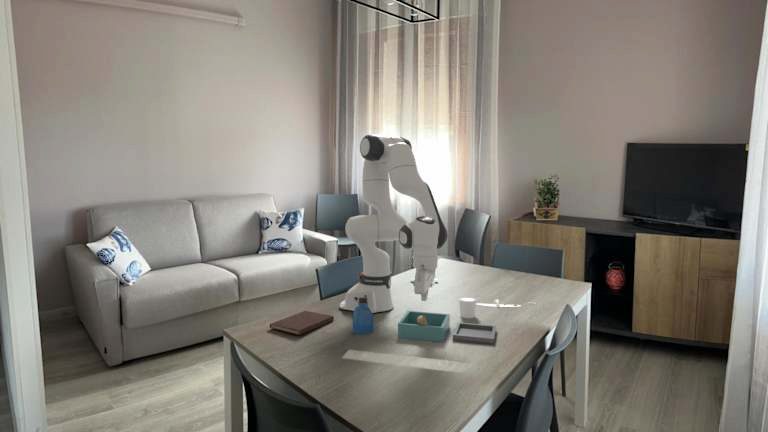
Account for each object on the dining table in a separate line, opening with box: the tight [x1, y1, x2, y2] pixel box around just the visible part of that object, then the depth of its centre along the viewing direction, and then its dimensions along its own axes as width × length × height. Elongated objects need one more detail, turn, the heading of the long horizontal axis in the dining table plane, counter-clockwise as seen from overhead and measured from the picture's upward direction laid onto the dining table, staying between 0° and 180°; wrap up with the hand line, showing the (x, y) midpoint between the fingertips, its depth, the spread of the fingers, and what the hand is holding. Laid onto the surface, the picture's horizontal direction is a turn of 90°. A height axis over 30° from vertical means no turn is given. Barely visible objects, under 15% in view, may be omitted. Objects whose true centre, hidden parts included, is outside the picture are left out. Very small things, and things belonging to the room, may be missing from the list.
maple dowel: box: [417, 315, 428, 326], centre depth 183 cm, size 3×3×9 cm
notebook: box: [269, 310, 335, 336], centre depth 196 cm, size 15×20×2 cm
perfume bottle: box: [352, 298, 374, 335], centre depth 187 cm, size 6×6×12 cm
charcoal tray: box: [452, 322, 497, 345], centre depth 183 cm, size 14×14×2 cm
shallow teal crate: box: [397, 310, 451, 343], centre depth 186 cm, size 16×16×5 cm
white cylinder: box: [458, 296, 478, 319], centre depth 205 cm, size 7×7×7 cm
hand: (424, 299), depth 185 cm, fingers closed
